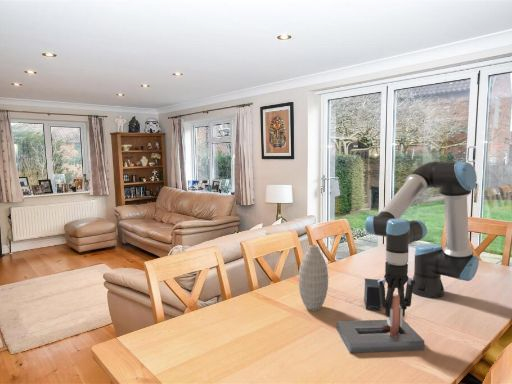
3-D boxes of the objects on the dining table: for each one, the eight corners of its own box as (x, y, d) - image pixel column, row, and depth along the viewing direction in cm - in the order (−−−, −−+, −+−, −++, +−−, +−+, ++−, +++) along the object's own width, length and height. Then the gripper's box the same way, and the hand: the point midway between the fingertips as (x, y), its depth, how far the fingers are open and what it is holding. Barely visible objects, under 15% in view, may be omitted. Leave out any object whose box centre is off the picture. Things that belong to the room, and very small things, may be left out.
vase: (330, 304, 159) (331, 243, 156) (323, 316, 148) (324, 250, 145) (303, 300, 165) (303, 240, 162) (294, 311, 153) (294, 247, 150)
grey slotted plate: (402, 327, 138) (402, 319, 138) (423, 350, 122) (424, 340, 122) (336, 329, 137) (336, 321, 136) (349, 353, 121) (349, 343, 120)
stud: (397, 334, 132) (399, 293, 130) (403, 341, 127) (405, 298, 125) (384, 334, 132) (385, 293, 130) (390, 341, 127) (391, 299, 125)
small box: (381, 310, 153) (382, 287, 152) (365, 309, 154) (366, 286, 153) (378, 300, 163) (378, 278, 162) (363, 299, 164) (364, 278, 163)
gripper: (413, 258, 131) (410, 319, 133) (370, 259, 130) (369, 320, 132) (423, 264, 123) (421, 329, 126) (378, 266, 122) (376, 330, 125)
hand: (394, 324), depth 129 cm, fingers closed on stud, 3 cm apart
